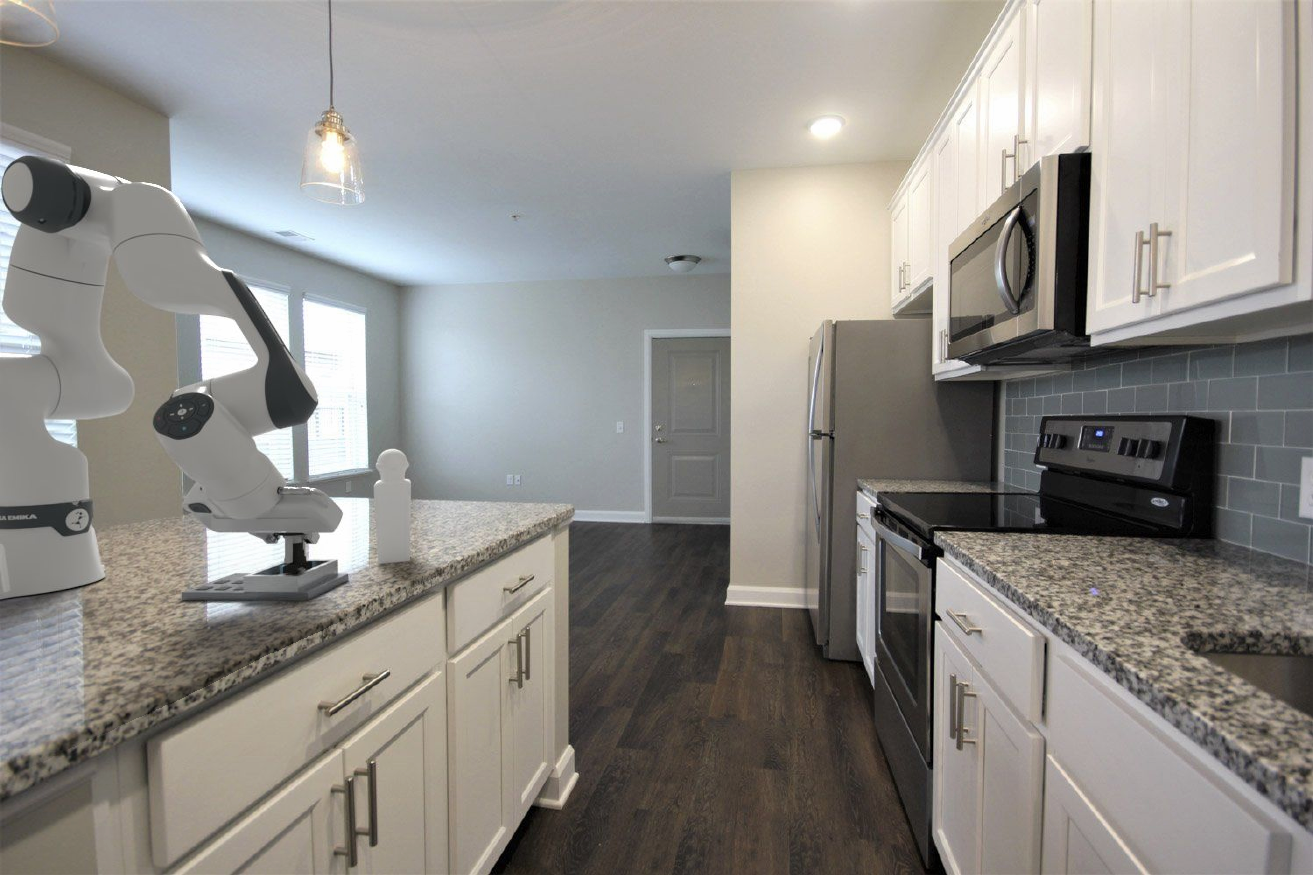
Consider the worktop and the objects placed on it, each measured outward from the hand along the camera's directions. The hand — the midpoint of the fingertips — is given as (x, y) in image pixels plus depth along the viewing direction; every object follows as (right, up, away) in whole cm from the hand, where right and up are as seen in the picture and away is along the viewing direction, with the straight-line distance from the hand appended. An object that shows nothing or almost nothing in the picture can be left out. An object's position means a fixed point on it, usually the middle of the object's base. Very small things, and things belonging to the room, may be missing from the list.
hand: (294, 540), depth 95 cm
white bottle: (+8, -7, +19) cm, 22 cm away
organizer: (-4, -8, 0) cm, 9 cm away
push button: (0, -7, -1) cm, 7 cm away
